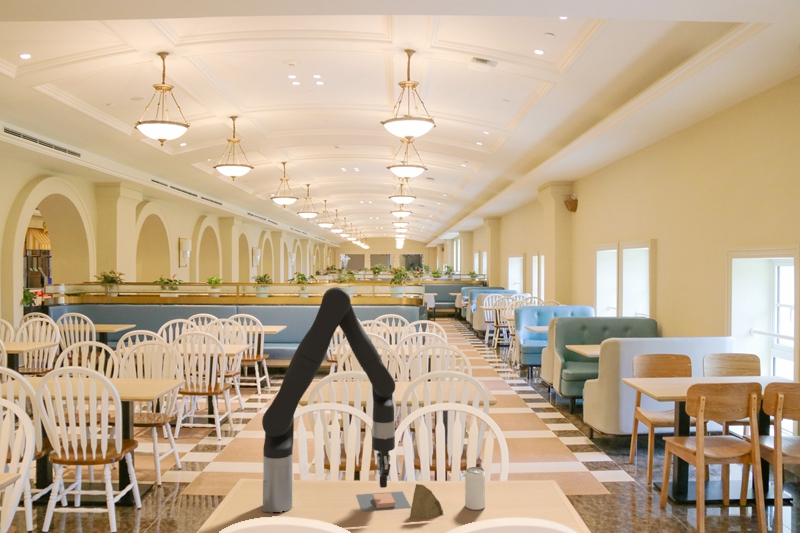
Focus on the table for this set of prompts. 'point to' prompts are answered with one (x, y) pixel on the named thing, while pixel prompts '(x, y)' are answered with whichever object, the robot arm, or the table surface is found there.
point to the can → (475, 488)
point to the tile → (383, 500)
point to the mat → (369, 505)
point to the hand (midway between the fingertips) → (383, 486)
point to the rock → (424, 504)
